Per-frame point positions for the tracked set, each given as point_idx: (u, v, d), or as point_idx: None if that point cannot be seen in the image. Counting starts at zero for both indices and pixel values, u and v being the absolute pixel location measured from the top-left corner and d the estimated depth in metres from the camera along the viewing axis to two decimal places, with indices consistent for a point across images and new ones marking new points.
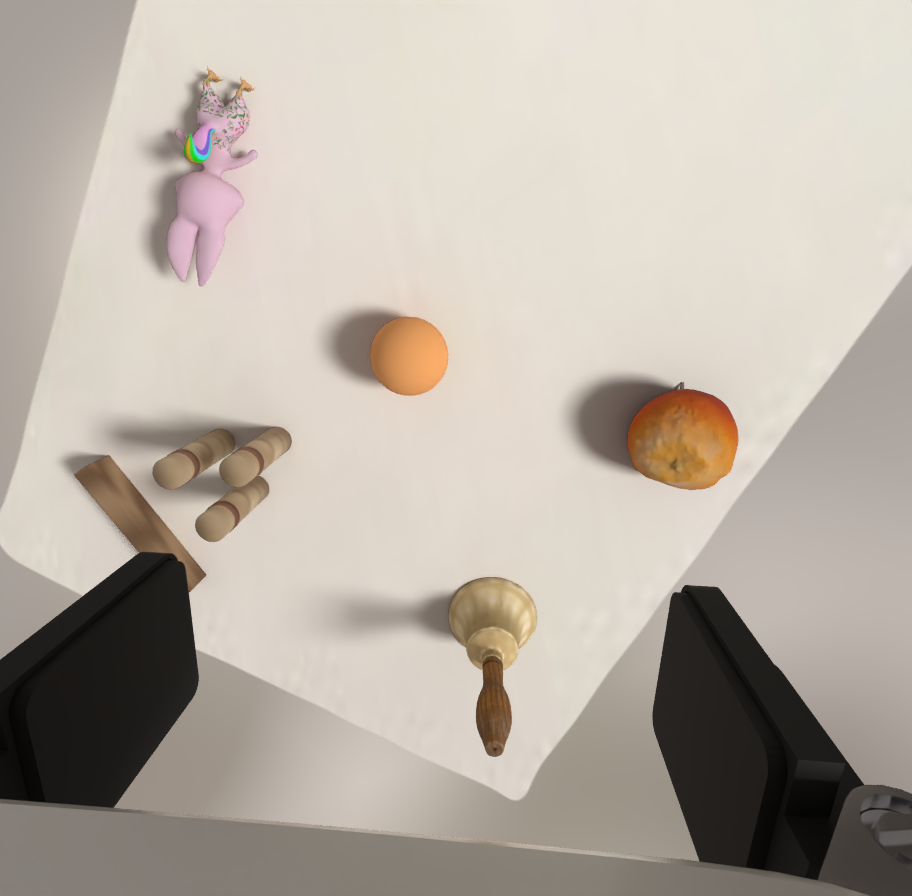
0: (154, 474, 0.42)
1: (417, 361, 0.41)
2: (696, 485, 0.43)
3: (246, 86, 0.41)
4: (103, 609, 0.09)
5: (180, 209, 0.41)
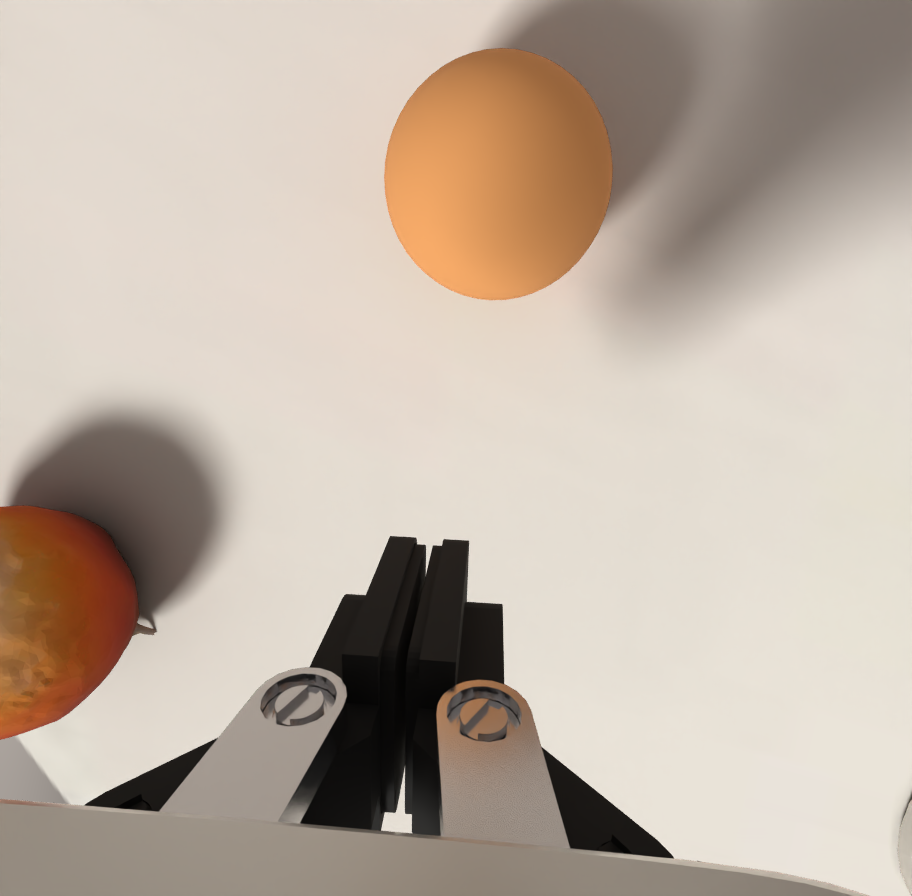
0: None
1: (469, 204, 0.13)
2: None
3: None
4: (400, 585, 0.10)
5: None
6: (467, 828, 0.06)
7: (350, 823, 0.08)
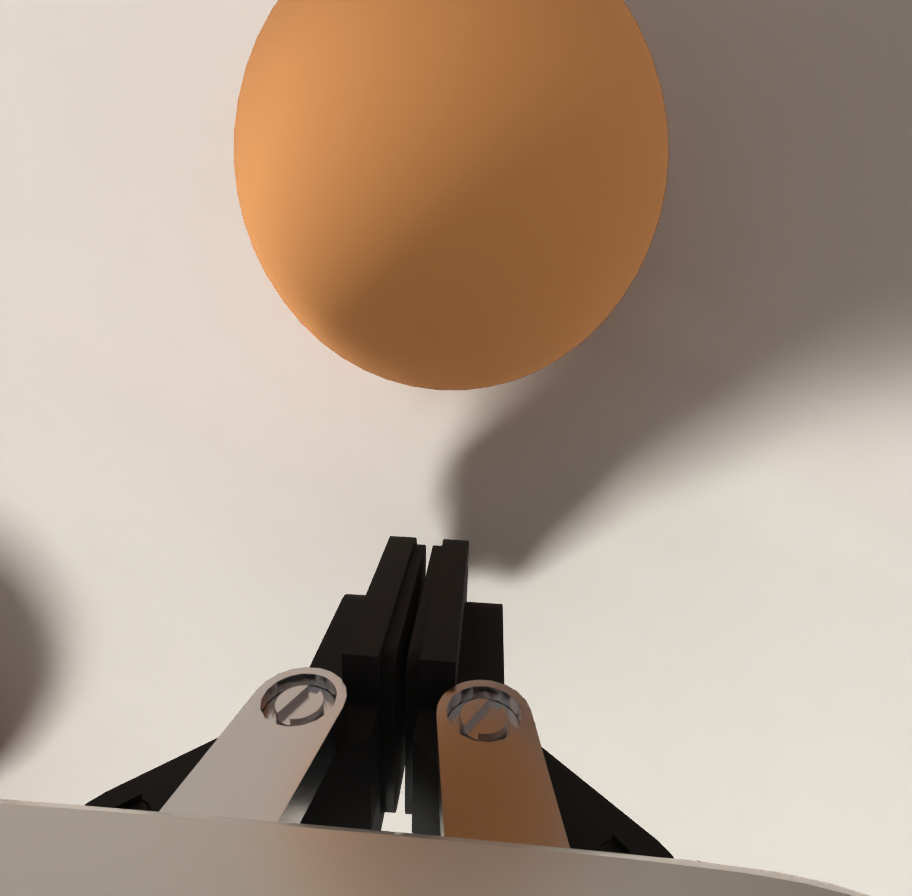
0: None
1: (379, 232, 0.06)
2: None
3: None
4: (400, 585, 0.10)
5: None
6: (467, 829, 0.06)
7: (350, 823, 0.08)
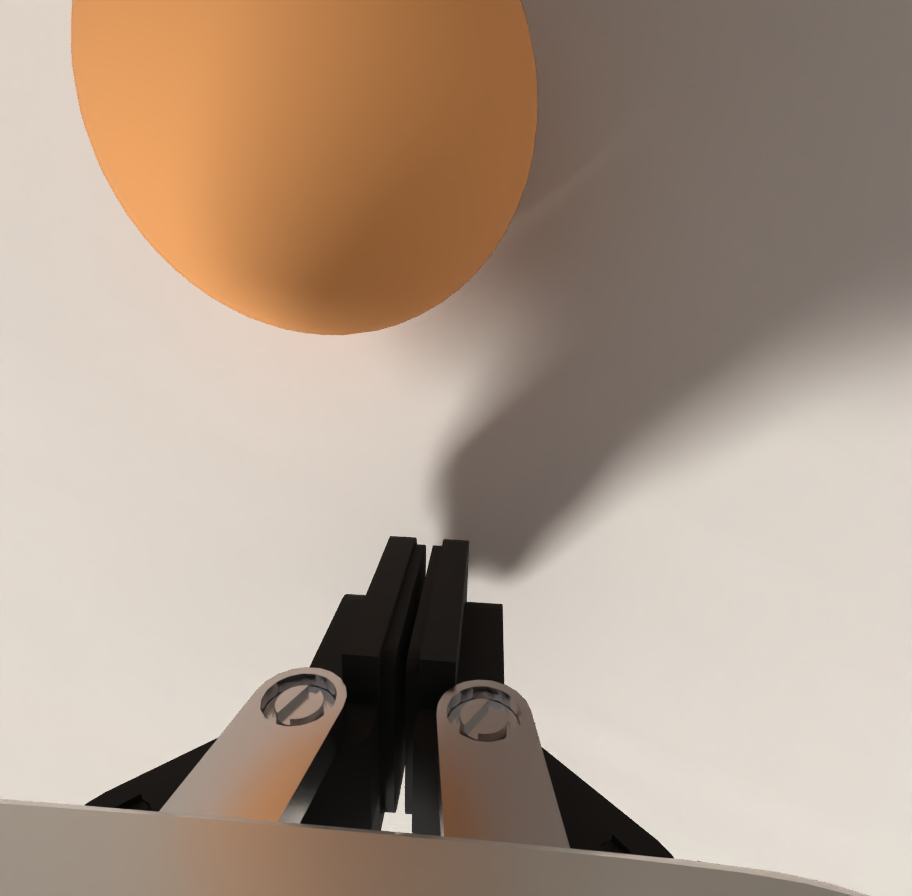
0: None
1: None
2: None
3: None
4: (400, 585, 0.10)
5: None
6: (468, 828, 0.06)
7: (350, 823, 0.08)
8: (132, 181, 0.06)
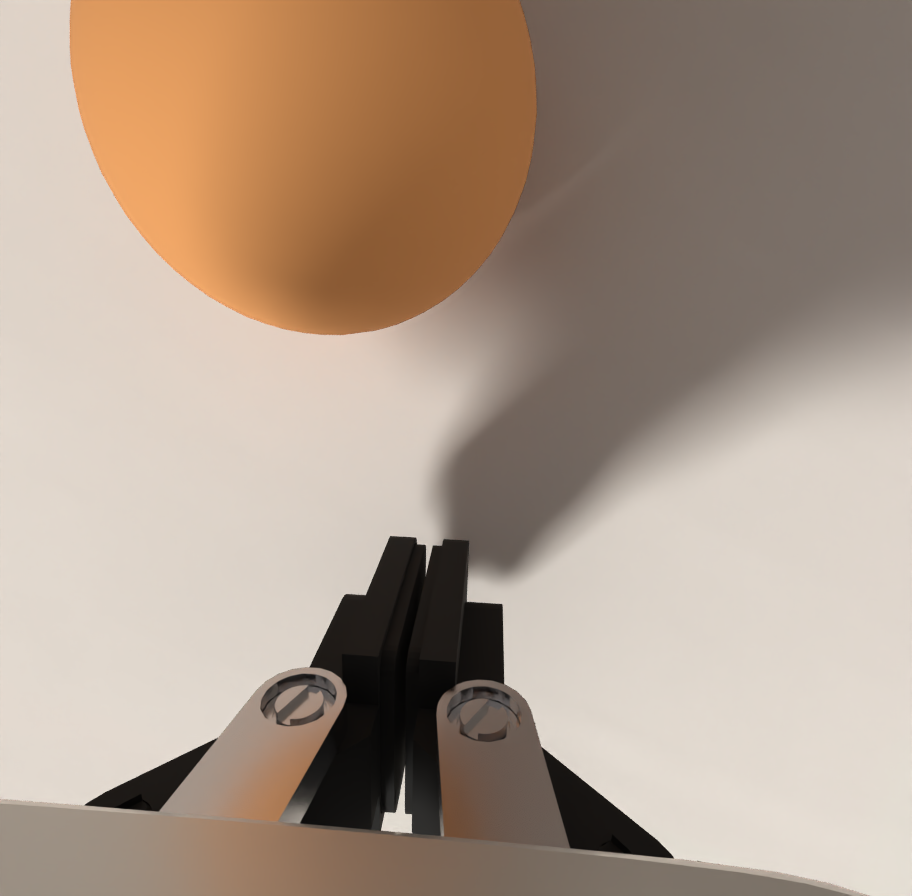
0: None
1: None
2: None
3: None
4: (400, 585, 0.10)
5: None
6: (467, 828, 0.06)
7: (350, 823, 0.08)
8: (129, 180, 0.06)
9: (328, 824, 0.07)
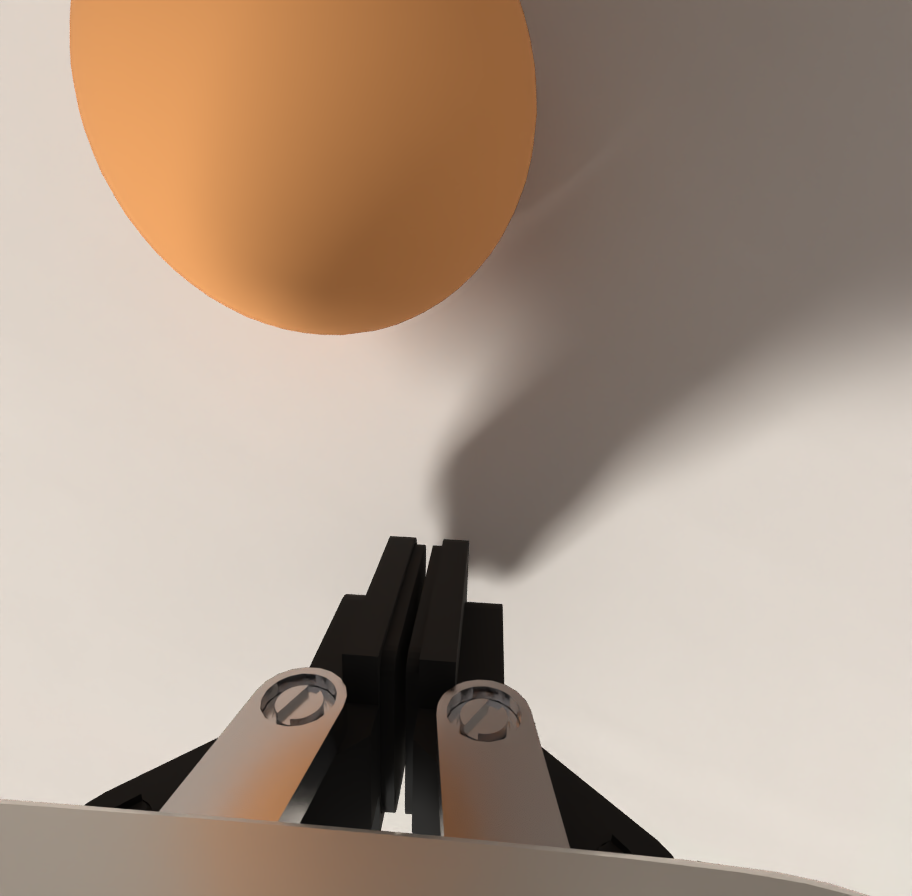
0: None
1: None
2: None
3: None
4: (400, 585, 0.10)
5: None
6: (467, 828, 0.06)
7: (350, 823, 0.08)
8: (129, 180, 0.06)
9: (328, 824, 0.07)
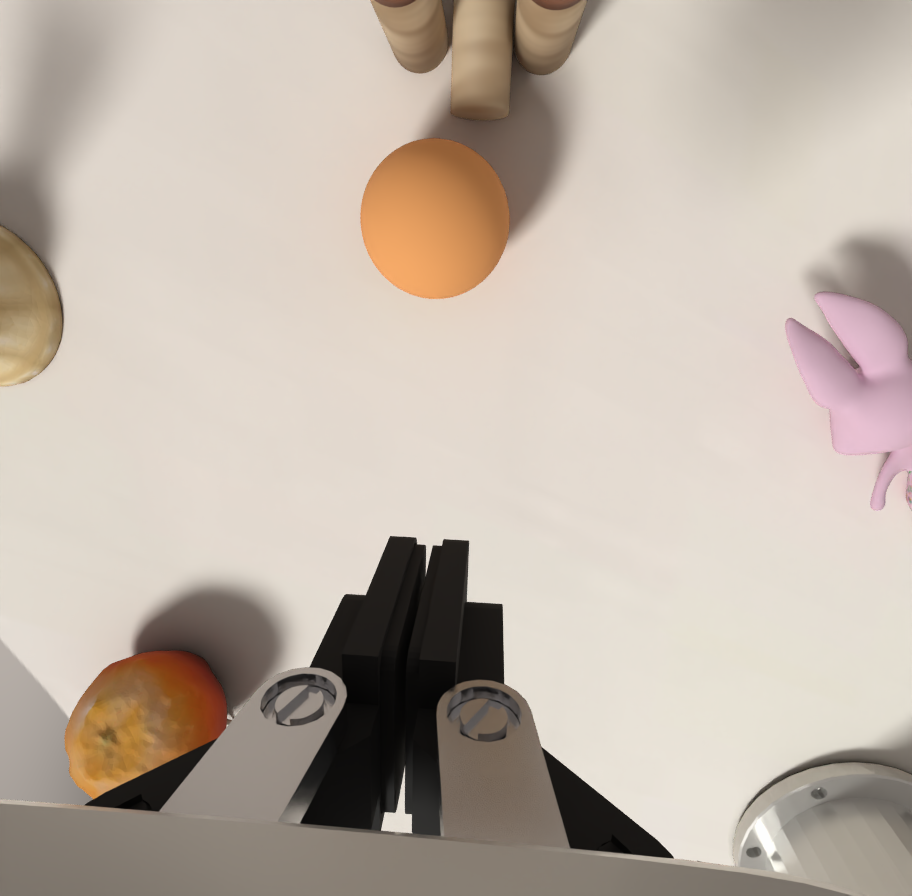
0: None
1: None
2: (71, 734, 0.29)
3: None
4: (400, 585, 0.10)
5: None
6: (467, 828, 0.06)
7: (350, 823, 0.08)
8: (386, 249, 0.21)
9: (328, 824, 0.07)
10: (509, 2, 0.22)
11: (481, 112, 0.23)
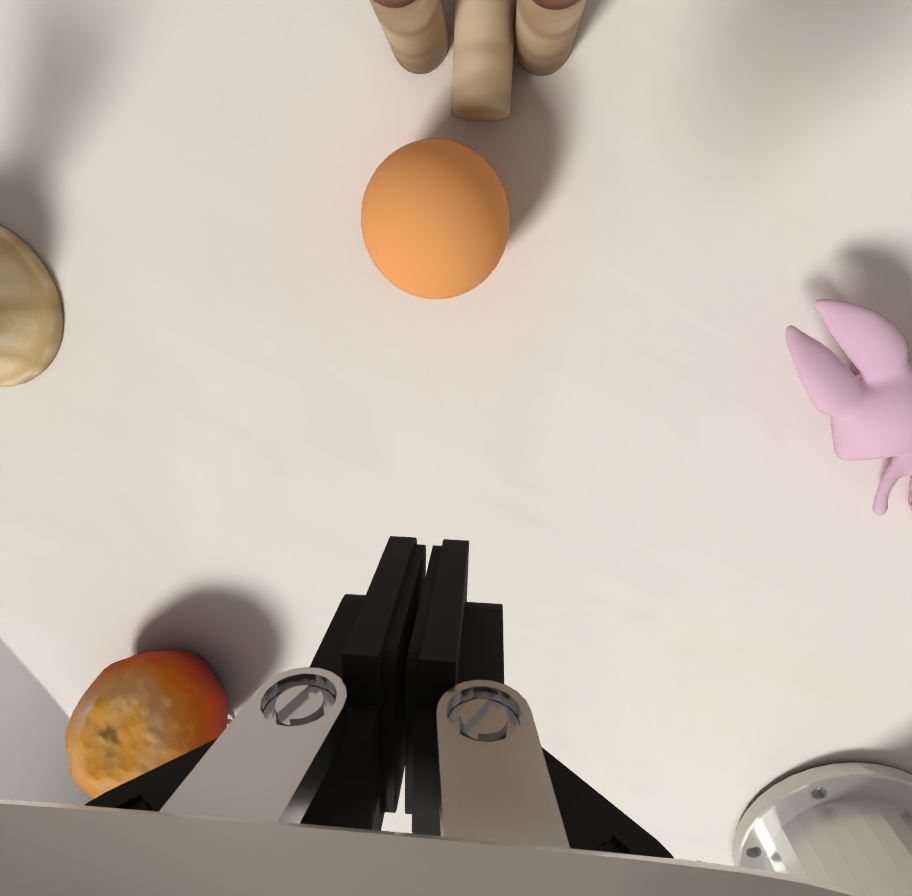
0: None
1: None
2: (71, 733, 0.29)
3: None
4: (400, 585, 0.10)
5: None
6: (467, 828, 0.06)
7: (350, 823, 0.08)
8: (386, 249, 0.21)
9: (328, 824, 0.07)
10: (511, 3, 0.22)
11: (482, 113, 0.23)
